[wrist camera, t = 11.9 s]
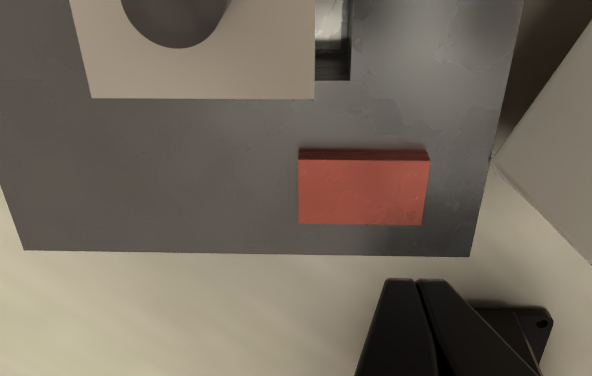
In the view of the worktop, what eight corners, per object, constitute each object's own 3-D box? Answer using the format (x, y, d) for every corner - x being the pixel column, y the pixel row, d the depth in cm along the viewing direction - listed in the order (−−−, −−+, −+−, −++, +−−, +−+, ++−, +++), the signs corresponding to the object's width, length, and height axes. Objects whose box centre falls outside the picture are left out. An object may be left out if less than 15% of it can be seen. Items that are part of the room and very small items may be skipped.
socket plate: (451, 208, 21) (473, 268, 18) (58, 204, 22) (16, 260, 19) (550, -343, 13) (625, -406, 10) (-102, -329, 13) (-228, -385, 10)
